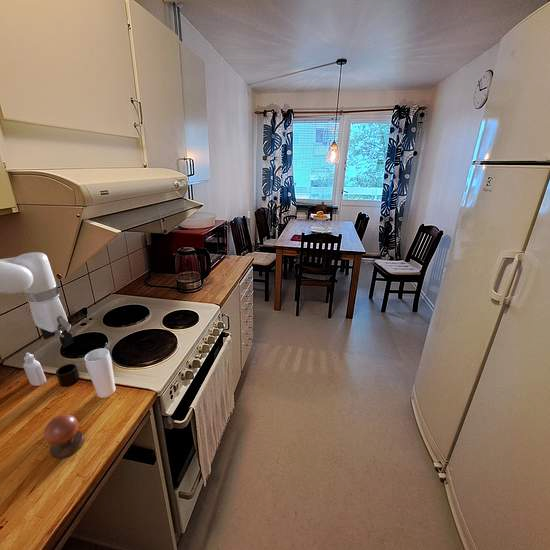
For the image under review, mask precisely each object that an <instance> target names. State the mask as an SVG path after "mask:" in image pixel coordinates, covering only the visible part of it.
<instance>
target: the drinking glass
mask: <svg viewBox="0 0 550 550" xmlns="http://www.w3.org/2000/svg"><path fill="white" fill-rule="evenodd" d="M83 360H84V364H85V368H86V370H87V373H88V376H89V378H90V380H91V383H92V386H93V388H94V390H95V392H96V396H97V397H98V398H101V399H105V398H109V397H110V396H112V395H113V394H114V393H115V392H116V389H117V387H116V384H115V375H114V365H113V360H112V356H111V354H110V350H109V349H107V348H102V347H101V348H96V349H93V350H90V351H89V352H87V353H86V354H85V355H84V357H83Z"/></svg>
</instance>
